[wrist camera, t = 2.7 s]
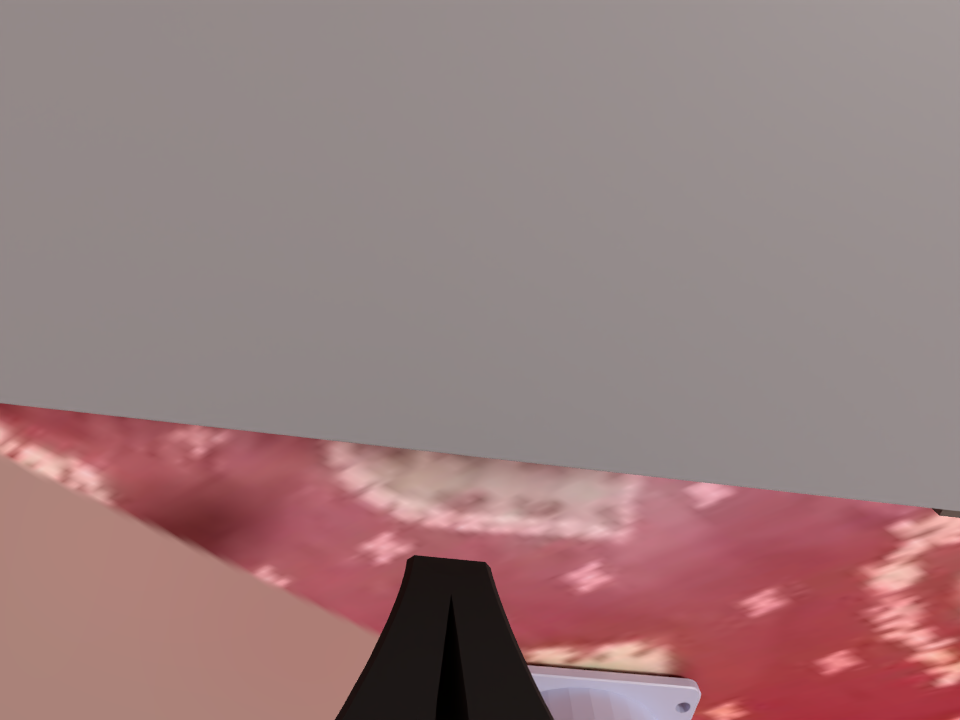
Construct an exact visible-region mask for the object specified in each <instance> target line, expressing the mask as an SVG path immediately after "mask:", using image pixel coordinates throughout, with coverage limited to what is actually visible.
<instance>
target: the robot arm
mask: <svg viewBox="0 0 960 720" xmlns="http://www.w3.org/2000/svg"><path fill="white" fill-rule="evenodd" d="M700 697H701V692H700V690H699V687H698V685H697V683H696V682H695V681H694V680H691V679H687V678H675V677H663V676H651V675H640V674H628V673H616V672H604V671H592V670H580V669H568V668H556V667H545V666H533V665H527V663H526V661H525V659H524V657H523V655H522V653H521V650H520V648H519V646H518V644H517V641H516V639H515V636H514V634H513V632H512V629H511V627H510V624H509V622H508V619H507V616H506V614H505V611H504V609H503V606H502V603H501V600H500V598H499V595H498V592H497V589H496V585H495V582H494V579H493V576H492V572H491V568H490V567H489V566H488V565H487V563H486V562H478V561H468V560H458V559H447V558H437V557H427V556H417V555H414V556H413V557H411V558H409V559H408V560H407V563H406V569H405V574H404V577H403V581H402V584H401V587H400V590H399V593H398V596H397V598H396V601H395V603H394V606H393V608H392V611H391V613H390V616H389V618H388V620H387V623H386V625H385V627H384V629H383V631H382V633H381V635H380V637H379V639H378V642H377V644H376V646H375V648H374V650H373V652H372V654H371V656H370V658H369V660H368V662H367V664H366V666H365V668H364V669H363V671H362V673H361V675H360V677H359V679H358V680H357V682H356V684H355V686H354V687H353V689H352V691H351V693H350V695H349V696H348V698H347V700H346V702H345V704H344V705H343V707H342V709H341V710H340V712H339V714H338V715H337V717H336V719H335V720H691V719H692V716H693V714H694V712H695V709H696V707H697V705H698V702H699V700H700Z"/></svg>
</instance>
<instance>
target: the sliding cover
mask: <svg viewBox="0 0 960 720" xmlns="http://www.w3.org/2000/svg"><path fill="white" fill-rule="evenodd" d="M0 403H4V404H13V405H22V406H31V407H40V408H49V409H58V410H66V411H75V412H84V413H93V414H102V415H111V416H120V417H129V418H137V419H146V420H155V421H164V422H173V423H182V424H191V425H199V426H208V427H217V428H226V429H235V430H244V431H253V432H262V433H270V434H279V435H288V436H297V437H306V438H315V439H324V440H332V441H341V442H350V443H359V444H368V445H377V446H386V447H395V448H403V449H412V450H421V451H430V452H439V453H448V454H457V455H465V456H474V457H483V458H492V459H501V460H510V461H519V462H528V463H536V464H545V465H554V466H563V467H572V468H581V469H590V470H598V471H607V472H616V473H625V474H634V475H643V476H652V477H661V478H669V479H678V480H687V481H696V482H705V483H714V484H723V485H731V486H740V487H749V488H758V489H767V490H776V491H785V492H794V493H802V494H811V495H820V496H829V497H838V498H847V499H856V500H864V501H873V502H882V503H891V504H900V505H909V506H918V507H927V508H935V509H944V510H953V511H960V0H0Z"/></svg>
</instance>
